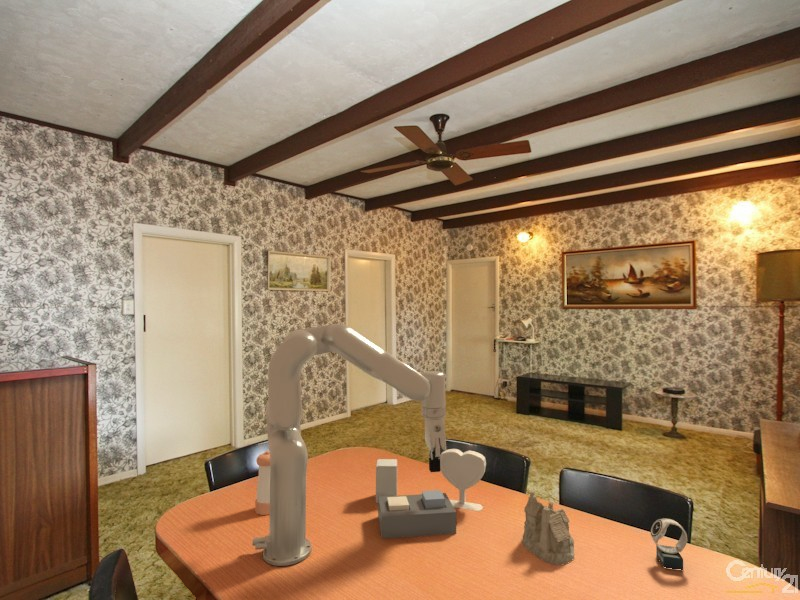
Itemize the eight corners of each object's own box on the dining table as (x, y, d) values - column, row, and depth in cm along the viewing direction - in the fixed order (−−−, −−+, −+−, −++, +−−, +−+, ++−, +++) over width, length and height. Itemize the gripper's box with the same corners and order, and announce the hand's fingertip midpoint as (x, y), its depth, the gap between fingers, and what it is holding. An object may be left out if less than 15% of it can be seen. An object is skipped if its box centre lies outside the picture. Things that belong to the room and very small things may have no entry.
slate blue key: (425, 516, 125) (425, 499, 125) (421, 507, 131) (421, 491, 131) (445, 515, 125) (445, 498, 126) (440, 506, 131) (440, 490, 132)
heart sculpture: (438, 504, 141) (438, 451, 141) (441, 498, 145) (441, 446, 146) (484, 512, 135) (484, 456, 136) (486, 505, 140) (486, 451, 141)
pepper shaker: (281, 505, 140) (282, 447, 140) (273, 515, 133) (273, 455, 133) (261, 504, 141) (261, 447, 141) (251, 514, 133) (252, 454, 134)
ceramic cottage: (547, 567, 106) (548, 506, 107) (511, 537, 121) (513, 484, 123) (597, 561, 110) (597, 502, 112) (557, 532, 126) (557, 481, 127)
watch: (648, 555, 111) (647, 513, 112) (682, 559, 109) (681, 517, 110) (655, 567, 106) (654, 523, 106) (691, 572, 104) (690, 528, 104)
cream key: (389, 523, 123) (389, 506, 123) (387, 513, 129) (387, 497, 129) (409, 521, 124) (409, 504, 124) (406, 512, 130) (406, 496, 130)
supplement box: (396, 503, 141) (397, 466, 142) (375, 503, 141) (375, 466, 142) (397, 494, 149) (397, 458, 149) (376, 494, 149) (377, 458, 149)
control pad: (381, 538, 119) (381, 516, 119) (378, 516, 132) (378, 496, 132) (456, 533, 122) (456, 511, 122) (445, 512, 135) (445, 492, 135)
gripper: (451, 417, 122) (452, 479, 122) (439, 405, 137) (440, 461, 136) (426, 418, 121) (427, 481, 121) (417, 406, 136) (418, 463, 135)
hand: (434, 470), depth 129 cm, fingers closed
